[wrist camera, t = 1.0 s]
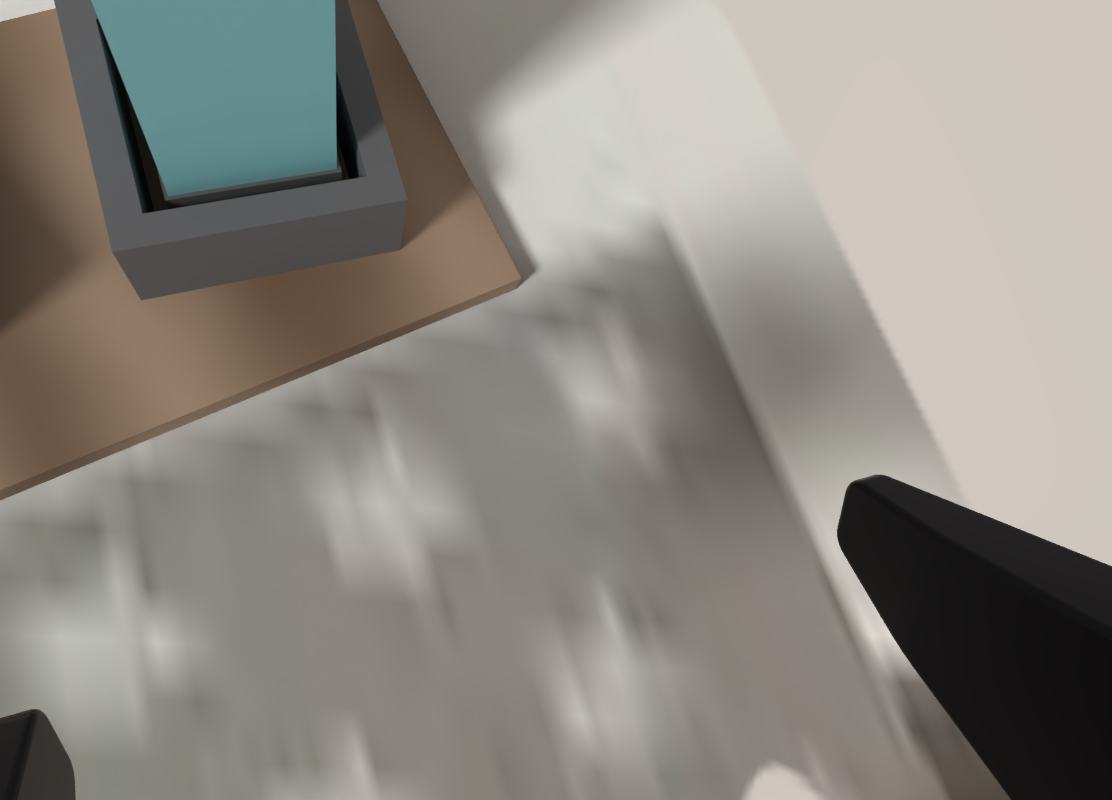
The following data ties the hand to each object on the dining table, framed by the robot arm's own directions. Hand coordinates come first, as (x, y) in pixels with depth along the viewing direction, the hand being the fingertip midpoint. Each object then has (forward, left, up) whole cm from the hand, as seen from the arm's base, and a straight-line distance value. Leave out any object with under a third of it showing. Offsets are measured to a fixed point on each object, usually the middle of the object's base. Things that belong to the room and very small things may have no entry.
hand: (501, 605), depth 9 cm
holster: (+9, +9, -13) cm, 19 cm away
